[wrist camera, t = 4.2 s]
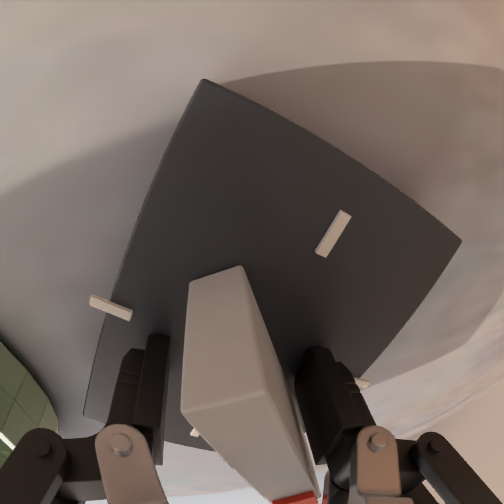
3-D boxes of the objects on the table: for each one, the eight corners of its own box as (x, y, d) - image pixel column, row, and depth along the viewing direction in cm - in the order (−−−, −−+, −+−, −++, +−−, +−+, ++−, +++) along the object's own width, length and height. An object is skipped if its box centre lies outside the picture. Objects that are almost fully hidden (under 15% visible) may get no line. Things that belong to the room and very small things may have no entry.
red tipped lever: (188, 280, 9) (177, 424, 5) (241, 262, 9) (269, 402, 5) (258, 414, 12) (276, 515, 8) (295, 403, 12) (323, 503, 8)
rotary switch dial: (188, 79, 9) (179, 66, 6) (428, 218, 12) (473, 249, 10) (85, 366, 14) (69, 413, 11) (274, 419, 17) (283, 462, 14)
